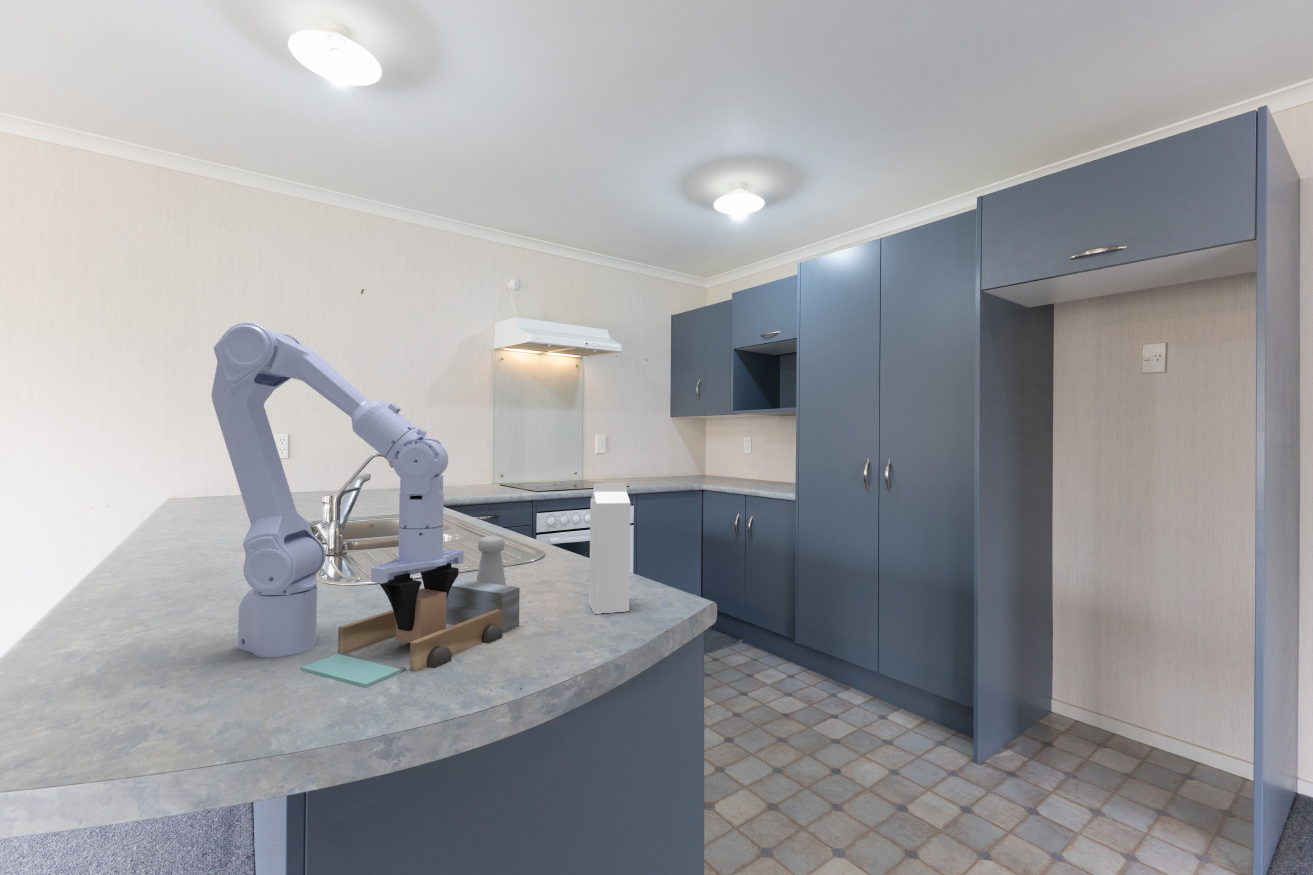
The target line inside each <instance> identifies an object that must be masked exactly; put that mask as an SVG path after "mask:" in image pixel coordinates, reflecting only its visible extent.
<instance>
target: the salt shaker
mask: <svg viewBox="0 0 1313 875" xmlns="http://www.w3.org/2000/svg"><path fill="white" fill-rule="evenodd" d="M477 549H478V552H481V556H480V561H479V565H478V571H477V575H476V576H477V577H476V581H477V582H484V583H491V584H498V585H505V586H507V583H506V576H505V570H504V564H503V558H502V551H504V549H505V539H504V538H503V537H501V536H498V535H497V536H496V535H487V536H483V537H481V538H480V539H479V540H478V545H477Z"/></svg>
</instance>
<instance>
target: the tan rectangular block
mask: <svg viewBox="0 0 1313 875" xmlns="http://www.w3.org/2000/svg"><path fill="white" fill-rule="evenodd" d="M446 628H447V623H446V592H440V591H435V590H429V589H424V587H423V588H419V591H418V595H417V599H416V605H415V619H414V625H413V630H411V631H403V630H398V627H397V622H396V635H395V640H397V641H401V642H405V643H409V644H410V642H412V641H414V640H417V639H420V638H422V637H425V636H427V635H430V634H433V633H435V632H438V631H441V630H443V629H446Z"/></svg>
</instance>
